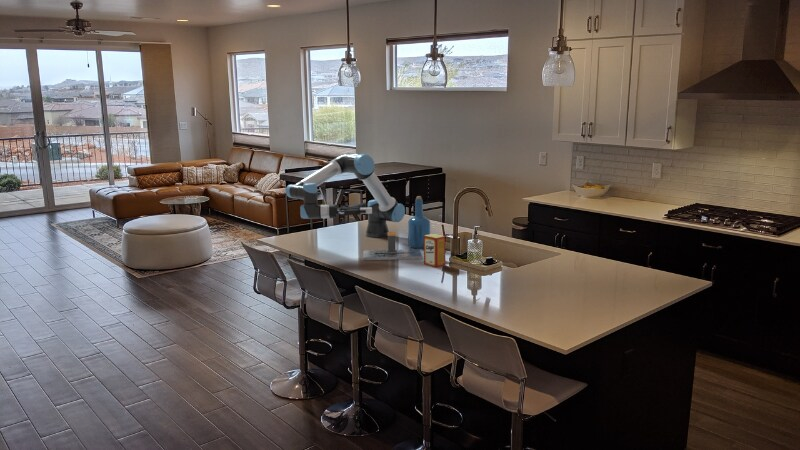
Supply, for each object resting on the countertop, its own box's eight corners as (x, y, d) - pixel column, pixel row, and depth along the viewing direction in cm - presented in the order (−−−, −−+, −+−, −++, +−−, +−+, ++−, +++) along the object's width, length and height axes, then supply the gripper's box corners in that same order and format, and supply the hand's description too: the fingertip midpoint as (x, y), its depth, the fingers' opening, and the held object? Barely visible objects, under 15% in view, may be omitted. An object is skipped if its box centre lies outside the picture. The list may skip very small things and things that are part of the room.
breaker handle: (386, 251, 357) (385, 232, 355) (397, 251, 357) (396, 231, 355) (386, 253, 353) (386, 233, 351) (397, 253, 353) (396, 233, 351)
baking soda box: (423, 264, 337) (423, 234, 334) (432, 262, 341) (432, 232, 338) (436, 267, 330) (436, 237, 327) (445, 265, 334) (445, 235, 331)
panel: (363, 253, 363) (363, 250, 362) (419, 251, 364) (419, 249, 363) (362, 260, 347) (362, 257, 347) (421, 258, 348) (421, 256, 348)
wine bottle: (431, 249, 370) (430, 198, 364) (408, 249, 370) (407, 198, 364) (430, 243, 383) (430, 194, 377) (408, 243, 384) (407, 194, 378)
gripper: (330, 215, 358) (372, 214, 358) (328, 220, 342) (372, 219, 343) (329, 202, 356) (371, 201, 357) (327, 207, 341) (371, 206, 341)
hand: (371, 210), depth 350 cm, fingers open, 3 cm apart
